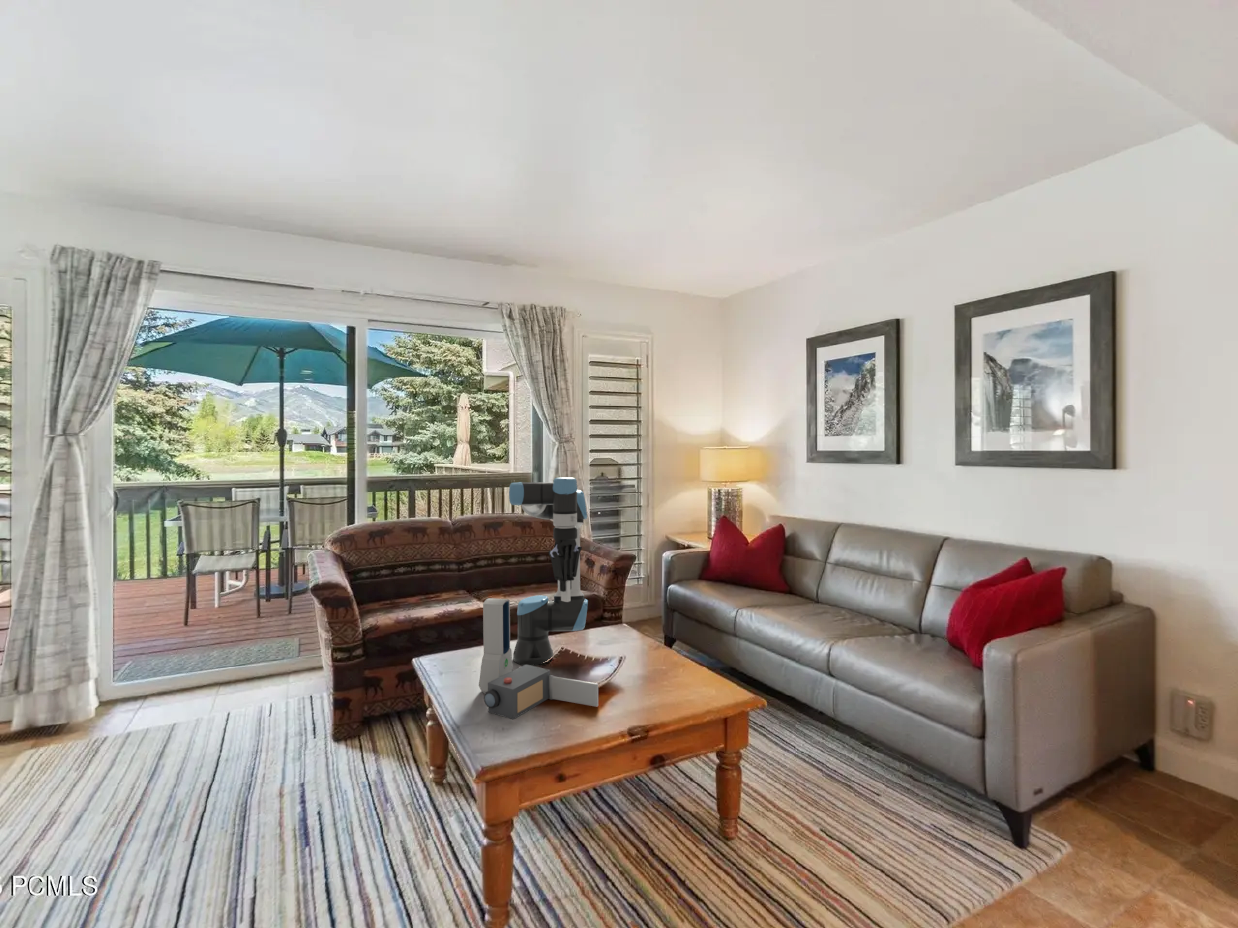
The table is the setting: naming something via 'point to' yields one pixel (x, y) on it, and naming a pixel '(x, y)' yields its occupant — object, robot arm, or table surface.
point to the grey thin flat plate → (573, 691)
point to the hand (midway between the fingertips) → (565, 600)
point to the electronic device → (495, 641)
